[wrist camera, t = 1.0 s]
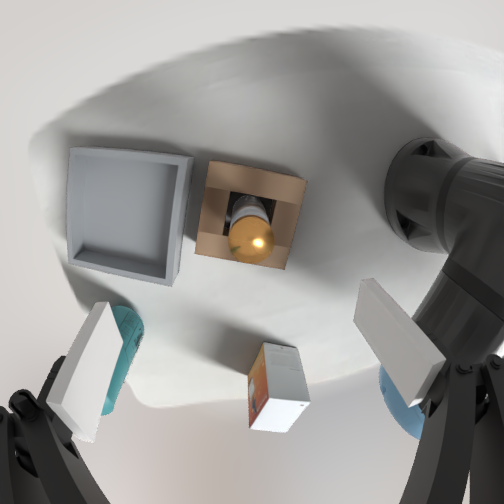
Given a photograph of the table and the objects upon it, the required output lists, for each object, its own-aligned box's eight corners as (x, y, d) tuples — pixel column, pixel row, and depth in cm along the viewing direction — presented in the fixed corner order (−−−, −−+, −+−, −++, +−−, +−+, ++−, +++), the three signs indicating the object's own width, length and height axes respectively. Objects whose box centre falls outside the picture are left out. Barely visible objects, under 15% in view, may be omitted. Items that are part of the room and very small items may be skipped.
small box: (263, 340, 38) (269, 396, 28) (298, 347, 39) (312, 401, 29) (246, 376, 41) (247, 429, 31) (279, 381, 41) (286, 433, 32)
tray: (195, 157, 29) (188, 158, 25) (179, 271, 33) (171, 286, 30) (87, 146, 27) (70, 147, 23) (83, 251, 32) (68, 263, 28)
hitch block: (301, 177, 30) (307, 181, 27) (280, 259, 33) (284, 269, 30) (212, 159, 29) (209, 161, 26) (198, 244, 32) (194, 253, 29)
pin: (267, 199, 31) (279, 224, 21) (260, 229, 32) (269, 267, 22) (235, 192, 30) (232, 215, 20) (230, 223, 31) (224, 259, 22)
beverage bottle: (103, 297, 35) (32, 400, 16) (143, 298, 35) (83, 416, 16) (115, 334, 37) (63, 437, 18) (154, 335, 37) (112, 452, 19)
